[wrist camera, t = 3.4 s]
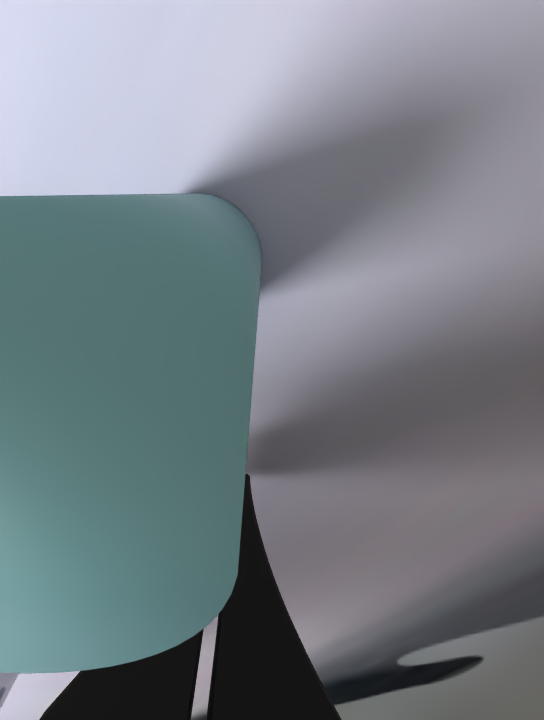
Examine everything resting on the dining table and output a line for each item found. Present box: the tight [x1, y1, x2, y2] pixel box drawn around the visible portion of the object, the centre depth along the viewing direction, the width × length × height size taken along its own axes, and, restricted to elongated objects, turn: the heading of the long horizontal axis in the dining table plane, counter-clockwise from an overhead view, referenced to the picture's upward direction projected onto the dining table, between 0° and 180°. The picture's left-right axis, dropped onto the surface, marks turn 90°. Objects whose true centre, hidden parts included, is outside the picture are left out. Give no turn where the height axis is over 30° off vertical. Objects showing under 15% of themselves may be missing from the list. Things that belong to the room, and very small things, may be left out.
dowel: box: [0, 193, 262, 673], centre depth 5 cm, size 3×3×8 cm
